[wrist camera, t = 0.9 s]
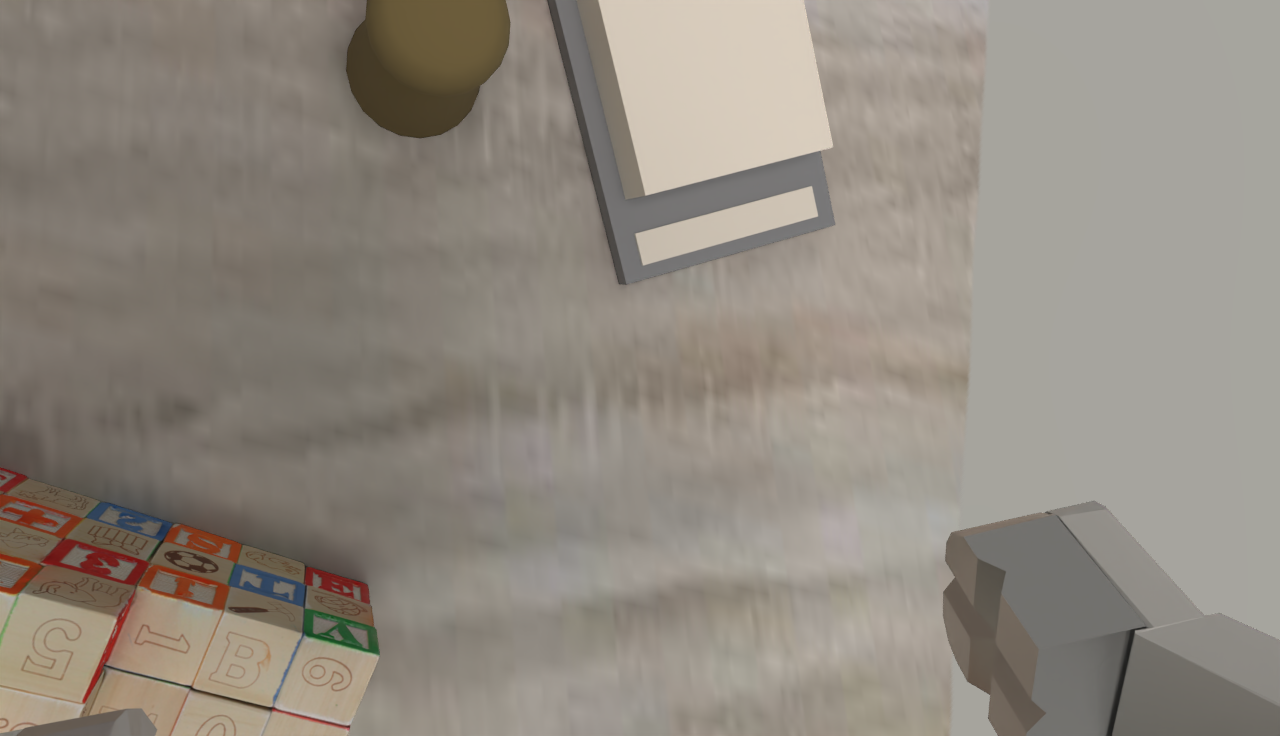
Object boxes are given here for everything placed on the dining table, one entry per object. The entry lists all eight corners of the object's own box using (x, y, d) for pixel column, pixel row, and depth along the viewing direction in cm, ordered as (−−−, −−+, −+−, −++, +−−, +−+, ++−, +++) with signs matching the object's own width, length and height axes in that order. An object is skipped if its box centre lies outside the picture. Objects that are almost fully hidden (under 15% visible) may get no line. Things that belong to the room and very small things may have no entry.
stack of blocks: (372, 579, 45) (390, 690, 34) (320, 701, 45) (320, 854, 33) (-136, 421, 38) (-337, 493, 26) (-201, 565, 38) (-430, 700, 26)
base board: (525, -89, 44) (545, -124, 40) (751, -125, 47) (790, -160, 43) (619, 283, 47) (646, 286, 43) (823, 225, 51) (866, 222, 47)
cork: (463, 154, 44) (507, 122, 34) (332, 115, 42) (336, 67, 32) (494, 28, 44) (547, -43, 34) (363, -17, 42) (377, -108, 32)
